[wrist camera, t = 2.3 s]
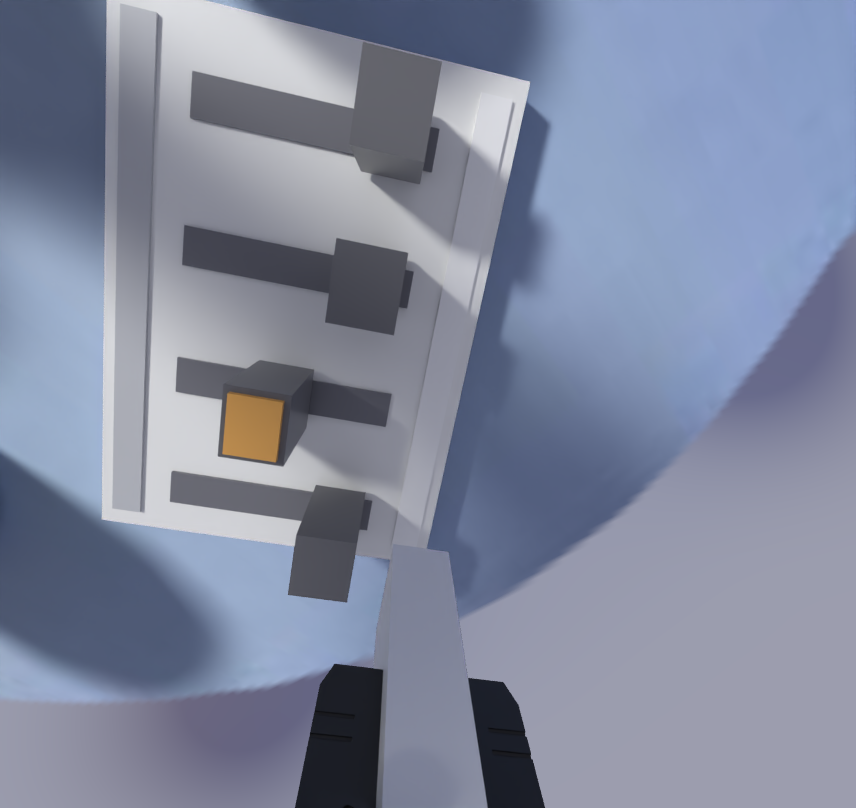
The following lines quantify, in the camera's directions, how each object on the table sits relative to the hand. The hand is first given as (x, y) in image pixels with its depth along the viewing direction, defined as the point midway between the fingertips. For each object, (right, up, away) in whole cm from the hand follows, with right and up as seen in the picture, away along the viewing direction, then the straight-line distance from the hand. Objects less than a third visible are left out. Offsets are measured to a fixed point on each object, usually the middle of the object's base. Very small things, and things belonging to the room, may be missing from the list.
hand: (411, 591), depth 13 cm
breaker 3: (-1, +18, +11) cm, 21 cm away
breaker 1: (-8, +6, +14) cm, 17 cm away
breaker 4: (-2, +12, +12) cm, 17 cm away
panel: (-7, +10, +15) cm, 20 cm away
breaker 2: (-5, -2, +16) cm, 17 cm away
